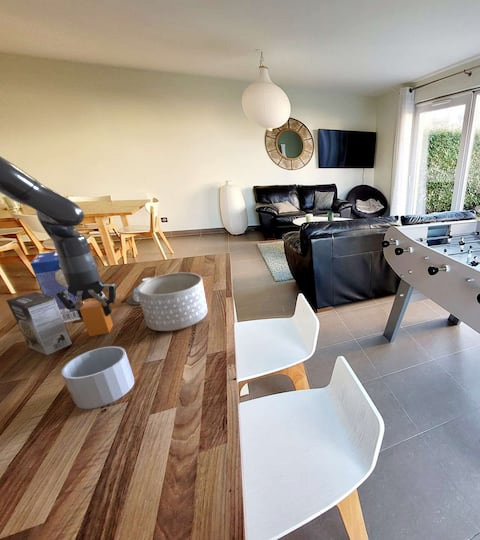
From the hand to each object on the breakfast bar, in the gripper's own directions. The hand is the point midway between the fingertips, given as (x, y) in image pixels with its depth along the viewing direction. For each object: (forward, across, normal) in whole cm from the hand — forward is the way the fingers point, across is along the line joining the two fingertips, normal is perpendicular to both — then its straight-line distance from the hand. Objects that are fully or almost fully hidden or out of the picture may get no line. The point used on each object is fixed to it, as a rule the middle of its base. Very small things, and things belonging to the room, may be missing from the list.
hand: (96, 316), depth 92 cm
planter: (+6, -22, +2) cm, 23 cm away
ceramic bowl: (+5, -8, +32) cm, 33 cm away
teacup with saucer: (+6, -9, -21) cm, 24 cm away
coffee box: (+6, +11, +4) cm, 13 cm away
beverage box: (+6, +12, -16) cm, 21 cm away
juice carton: (+5, 0, 0) cm, 5 cm away
